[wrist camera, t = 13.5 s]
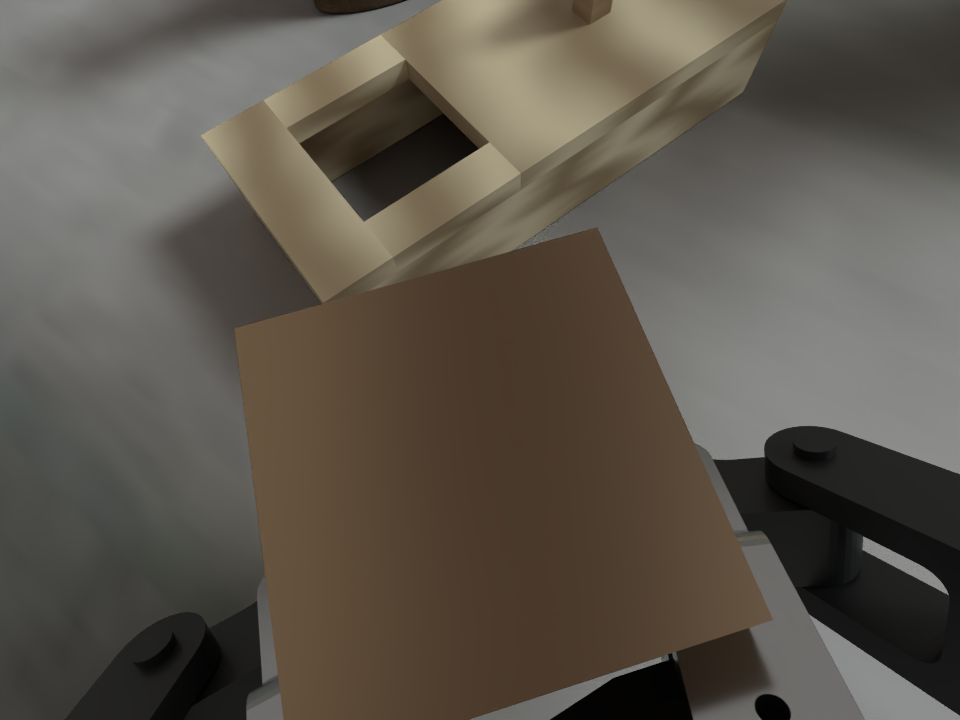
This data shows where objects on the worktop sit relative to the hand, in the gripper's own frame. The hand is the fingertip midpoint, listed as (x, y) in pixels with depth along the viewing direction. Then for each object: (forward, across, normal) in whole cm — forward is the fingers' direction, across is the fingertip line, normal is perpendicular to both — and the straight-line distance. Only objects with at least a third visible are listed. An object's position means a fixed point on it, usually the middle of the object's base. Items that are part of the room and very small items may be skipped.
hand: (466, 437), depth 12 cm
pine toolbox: (+19, -6, -5) cm, 20 cm away
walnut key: (+5, 0, +8) cm, 9 cm away
